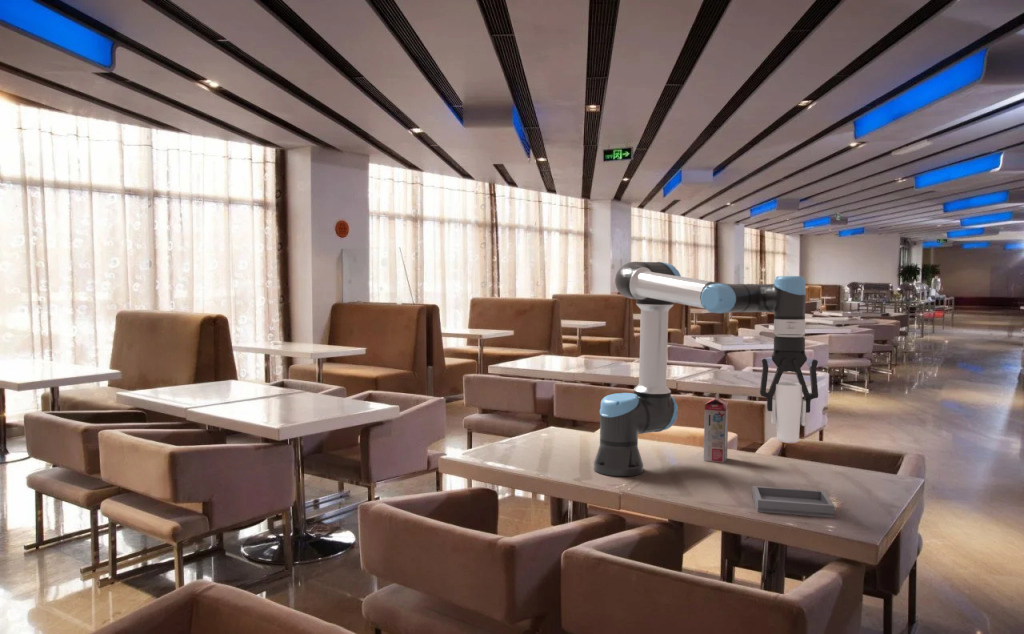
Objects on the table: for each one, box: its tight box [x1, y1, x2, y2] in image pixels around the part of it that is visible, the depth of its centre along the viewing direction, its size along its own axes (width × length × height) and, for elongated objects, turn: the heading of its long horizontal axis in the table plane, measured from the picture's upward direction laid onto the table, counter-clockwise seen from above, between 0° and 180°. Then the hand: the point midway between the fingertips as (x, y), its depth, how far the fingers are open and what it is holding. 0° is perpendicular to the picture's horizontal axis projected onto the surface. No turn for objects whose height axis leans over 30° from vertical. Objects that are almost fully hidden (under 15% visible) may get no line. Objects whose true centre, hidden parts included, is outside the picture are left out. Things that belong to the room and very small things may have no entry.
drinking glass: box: [773, 381, 803, 444], centre depth 181 cm, size 7×7×15 cm
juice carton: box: [703, 391, 729, 464], centre depth 231 cm, size 7×7×22 cm
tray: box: [752, 485, 835, 519], centre depth 183 cm, size 18×13×3 cm
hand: (788, 424), depth 182 cm, fingers closed on drinking glass, 7 cm apart
